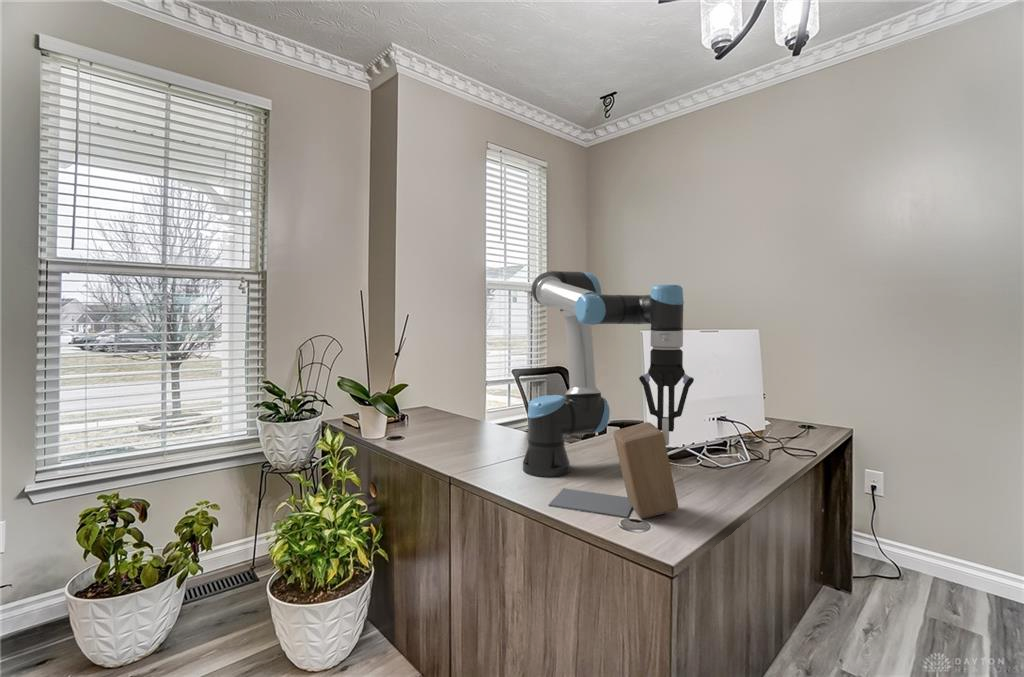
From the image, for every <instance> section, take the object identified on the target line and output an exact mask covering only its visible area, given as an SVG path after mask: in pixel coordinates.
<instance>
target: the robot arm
mask: <svg viewBox="0 0 1024 677" xmlns="http://www.w3.org/2000/svg"><path fill="white" fill-rule="evenodd" d="M531 295H532V297H533V299H534V300H535V302H537V304H538V305H541V306H544V307H547V308H551V307H552V308H553V307H555V308H557V309H560V314H561V315H562V316H563V317H564V318H565V319H564V320H565V333H566V351H567V363H568V364H567V366H568V380H569V382H568V384H569V388H568V390H567V391H566V392H565V397H564V396H563V395H559V394H552V395H550V394H548V395H542V396H538V397H535V398H533V399H532V400H530V401H529V402H528V407H527V408H528V411H527V440H528V441H527V444H528V445H527V448H526V451H525V454H524V458H523V459H522V460H523V461H522V471H523V472H524V473H526V474H528V475H530V476H535V477H536V476H537V477H543V476H544V477H547V478H550V477H559V476H564V475H567V474H568V473H570V471H571V462H570V459H569V456H568V453H567V450H566V446H565V437H567V436H579V435H591V434H596V433H601V432H602V431H604V430H605V429H606V426H607V425H608V423H609V421H610V414H611V413H610V405H609V404H608V401H607V399H606V398H605V397H603V396H602V392H601V390H599V389H598V388H597V386H596V370H595V369H596V368H595V356H594V342H593V341H594V340H593V329H592V328H593V327H592V326H594V325H650V347H652V349H651V350H650V359H649V361H650V365H649V368H648V370H647V373H645V374H642V375H640V376H639V377H638V380H639V381H640V382H641V385H643V386H642V387H643V390H644V395H645V398H646V402H647V405H648V411H649V413H650V414H649V415H651V416H655V417H656V419H657V426H656V428H657V429H659V430H660V431H661V432H662V433H663V434H664V439H665V444H666V447H667V446H669V445H670V432H674V429H675V419H676V418H679V417H682V414H683V411H684V407H685V403H686V400H687V397H688V394H689V393H688V392H689V389H690V386H691V387H692V384H694V381H695V378H694V377H693V376H689V375H688V374H686V372H685V370H684V366H683V359H684V358H683V357H684V352H683V350H682V349H681V348H682V347H683V346H684V304H685V301H684V290H683V287H682V286H681V285H680V284H679V285H678V284H655V285H653V286H652V287H651V289H650V294H643V295H642V294H641V295H638V294H637V295H636V294H634V295H633V294H603V293H602V288H601V284H600V281H599V280H598V278H597V276H596V275H595V274H593V273H590V272H585V271H560V270H559V271H558V270H551V271H544V272H543V273H541V274H539V275H538V276H537V277H536V278H534V280H533V282H532V284H531ZM650 378H651V379H652V381H653V382H654V383H655V385H657V407H656V406H655V402H654V398H653V392H652V388H651V385H650V380H651V379H650ZM682 379H683V380H682ZM681 380H682V384H684V385H683V388H682V390H681V395H680V399H679V401H678V402H679V403H678V406H677V410H676V411H675V396H676V395H675V387H676V386H677V384H679V382H680V381H681ZM665 387H668V406H667V408H668V411H667V412H668V416H664V404H665V402H664V394H665V393H664V391H665V390H664V388H665ZM656 408H657V409H656Z"/></svg>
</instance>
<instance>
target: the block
mask: <svg viewBox="0 0 1024 677" xmlns="http://www.w3.org/2000/svg"><path fill="white" fill-rule="evenodd" d="M613 437H614V442H615V447H616V451H617V455H618V461H619V464H620V469H621V473H622V474H621V475H622V478H623V483H624V486H625V487H624V488H625V492H626V497H628V501H629V503H630V504H631V505H632V509H633V510H634V512H636V514H637V515H638V517H639V519H648V518H650V517H655V516H659V515H662V514H666V513H670V512H675V511H678V509H679V502H678V498H677V493H676V488H675V484H674V479H673V473H672V468H671V463H670V460H669V459H670V458H669V455H668V449H667V446H666V444H665V439H664V434H663V433H662V431H660V430H659V429H657V426H655V425H654V424H653V423H651V422H648V421H647V422H642V423H637V424H635V425H630V426H626V427H623V428H619V429H616V430H614V432H613Z"/></svg>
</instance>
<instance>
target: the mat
mask: <svg viewBox="0 0 1024 677" xmlns="http://www.w3.org/2000/svg"><path fill="white" fill-rule="evenodd" d="M552 506H555V507H554V508H559V507H561V508H560V509H565V508H566V509H567V510H571V509H574V510H573V511H578V510H580V511H579V512H584V511H587V512H586V513H591V512H593V513H592V514H599V515H603V516H611V517H615V518H616V517H617V518H623V519H629V518H628V517H629V515H630V513H631V511H632V509H633V507H632V505H631V504H630V503H629V501H628V497H627V496H621V495H614V494H608V493H607V494H606V493H600V492H599V493H598V492H591V491H585V490H579V489H571V488H564V487H563V488H562V489H561V490H560V491H559V493H558V494H557V495H555V497H554V498H553V499H552V500H551V501H550V503H549V504H548V507H552Z"/></svg>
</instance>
